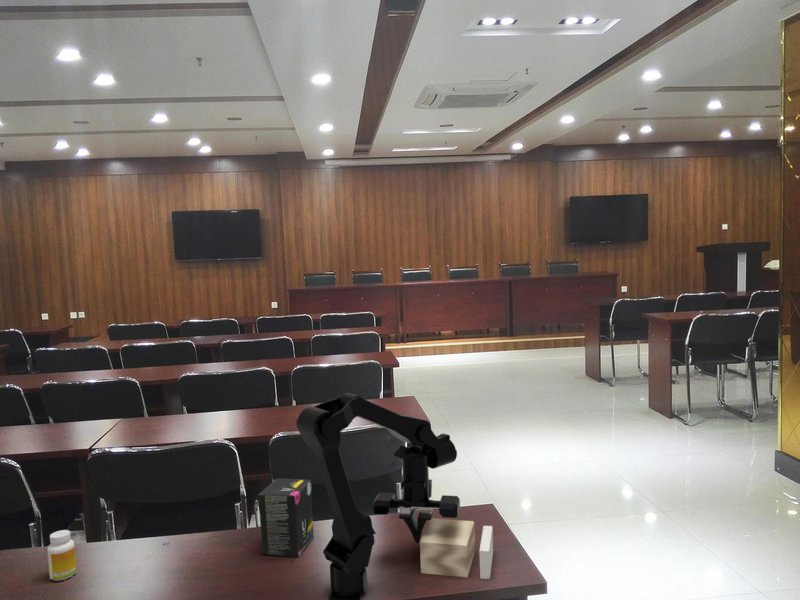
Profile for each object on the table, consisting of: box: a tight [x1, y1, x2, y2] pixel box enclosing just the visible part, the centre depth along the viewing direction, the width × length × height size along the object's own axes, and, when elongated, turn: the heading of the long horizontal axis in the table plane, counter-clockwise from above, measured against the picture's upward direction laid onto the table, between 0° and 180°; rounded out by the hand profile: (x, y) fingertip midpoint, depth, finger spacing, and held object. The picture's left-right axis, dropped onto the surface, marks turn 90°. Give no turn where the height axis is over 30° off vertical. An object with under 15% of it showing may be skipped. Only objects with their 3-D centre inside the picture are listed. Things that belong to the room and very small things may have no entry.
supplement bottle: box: [46, 529, 78, 579], centre depth 137 cm, size 5×5×10 cm
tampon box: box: [258, 478, 315, 558], centre depth 147 cm, size 11×9×15 cm
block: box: [419, 517, 476, 578], centre depth 137 cm, size 10×12×7 cm
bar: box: [478, 525, 494, 580], centre depth 135 cm, size 2×12×6 cm, turn 168°
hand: (417, 542), depth 138 cm, fingers closed
